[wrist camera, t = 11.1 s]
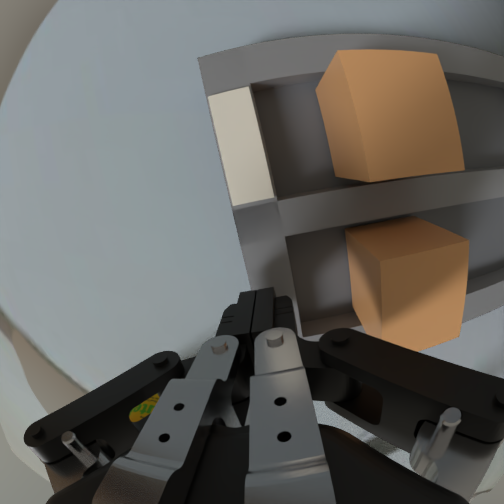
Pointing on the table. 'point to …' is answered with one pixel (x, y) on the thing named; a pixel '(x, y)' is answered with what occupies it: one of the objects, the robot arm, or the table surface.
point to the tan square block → (388, 115)
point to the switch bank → (342, 189)
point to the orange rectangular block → (408, 281)
